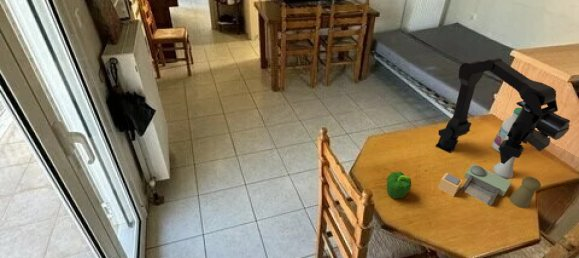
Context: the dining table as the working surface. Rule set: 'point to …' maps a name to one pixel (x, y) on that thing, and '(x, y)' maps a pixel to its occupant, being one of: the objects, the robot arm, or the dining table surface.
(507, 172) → the flask
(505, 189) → the sage green knobbed slab
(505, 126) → the milk bottle
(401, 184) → the bell pepper
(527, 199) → the olive pepper mill
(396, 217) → the dining table surface
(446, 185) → the tan and grey block
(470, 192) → the bracket
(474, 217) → the dining table surface
